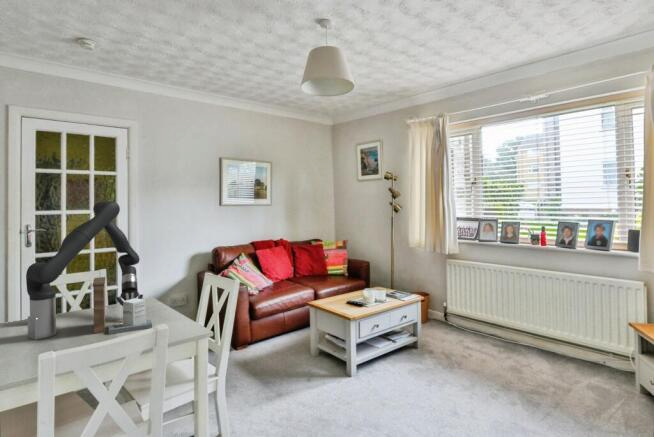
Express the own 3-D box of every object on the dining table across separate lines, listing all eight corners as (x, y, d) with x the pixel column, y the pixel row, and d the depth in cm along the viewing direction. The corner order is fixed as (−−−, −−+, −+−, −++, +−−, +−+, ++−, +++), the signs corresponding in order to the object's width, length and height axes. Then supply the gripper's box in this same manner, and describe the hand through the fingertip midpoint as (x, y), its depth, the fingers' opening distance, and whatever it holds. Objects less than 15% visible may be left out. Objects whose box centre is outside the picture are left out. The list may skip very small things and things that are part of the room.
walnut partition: (104, 332, 166) (104, 283, 166) (93, 334, 164) (92, 284, 163) (105, 322, 181) (105, 277, 180) (95, 323, 178) (94, 277, 178)
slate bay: (109, 329, 170) (109, 325, 170) (151, 323, 179) (150, 319, 179) (108, 334, 164) (108, 330, 164) (152, 328, 173) (152, 323, 173)
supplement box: (122, 326, 175) (122, 301, 174) (135, 322, 182) (135, 297, 181) (133, 328, 172) (132, 303, 171) (146, 324, 179) (146, 299, 178)
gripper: (115, 281, 187) (115, 310, 177) (143, 279, 194) (144, 307, 184) (115, 289, 192) (115, 318, 182) (142, 286, 199) (144, 314, 189)
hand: (130, 312), depth 183 cm, fingers closed
